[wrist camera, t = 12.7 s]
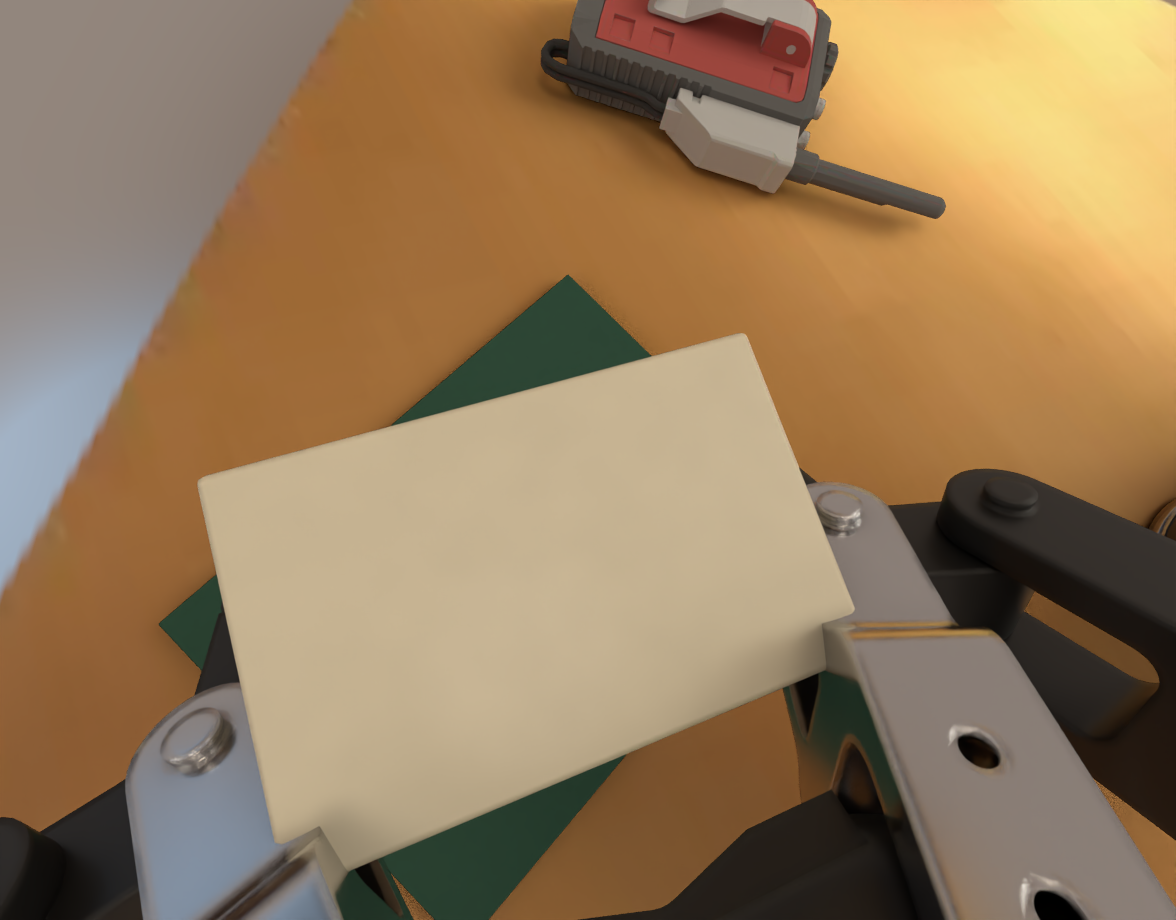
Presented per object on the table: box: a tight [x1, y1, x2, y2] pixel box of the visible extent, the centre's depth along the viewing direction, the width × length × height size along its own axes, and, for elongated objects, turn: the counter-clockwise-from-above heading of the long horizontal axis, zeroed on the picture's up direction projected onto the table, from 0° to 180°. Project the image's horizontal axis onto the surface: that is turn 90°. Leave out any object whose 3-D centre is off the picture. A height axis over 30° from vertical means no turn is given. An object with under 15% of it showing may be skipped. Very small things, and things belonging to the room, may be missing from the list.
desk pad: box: [159, 275, 652, 920], centre depth 21 cm, size 20×15×1 cm
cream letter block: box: [197, 333, 855, 871], centre depth 9 cm, size 6×4×9 cm
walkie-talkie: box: [541, 0, 946, 219], centre depth 25 cm, size 9×4×20 cm
